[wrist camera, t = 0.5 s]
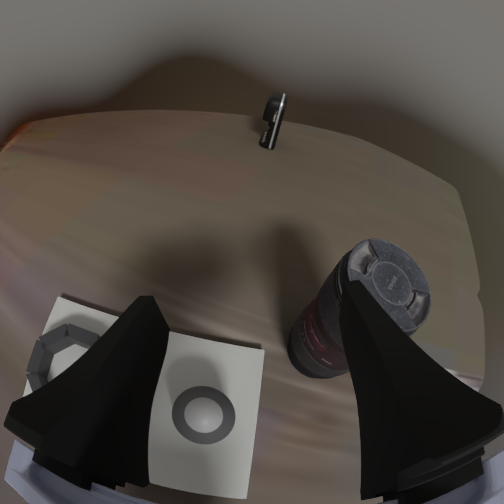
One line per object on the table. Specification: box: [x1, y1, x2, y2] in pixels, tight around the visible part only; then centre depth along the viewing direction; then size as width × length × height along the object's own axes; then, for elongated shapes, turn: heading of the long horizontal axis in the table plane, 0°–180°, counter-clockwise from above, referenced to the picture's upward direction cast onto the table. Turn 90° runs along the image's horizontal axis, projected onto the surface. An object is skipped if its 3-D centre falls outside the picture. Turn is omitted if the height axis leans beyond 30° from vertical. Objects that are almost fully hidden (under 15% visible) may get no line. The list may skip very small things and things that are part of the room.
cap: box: [172, 386, 235, 444], centre depth 19 cm, size 5×5×4 cm
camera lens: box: [288, 239, 431, 379], centre depth 23 cm, size 8×8×15 cm
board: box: [23, 297, 264, 499], centre depth 20 cm, size 16×24×3 cm, turn 83°
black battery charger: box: [260, 92, 288, 149], centre depth 51 cm, size 7×4×11 cm, turn 170°
